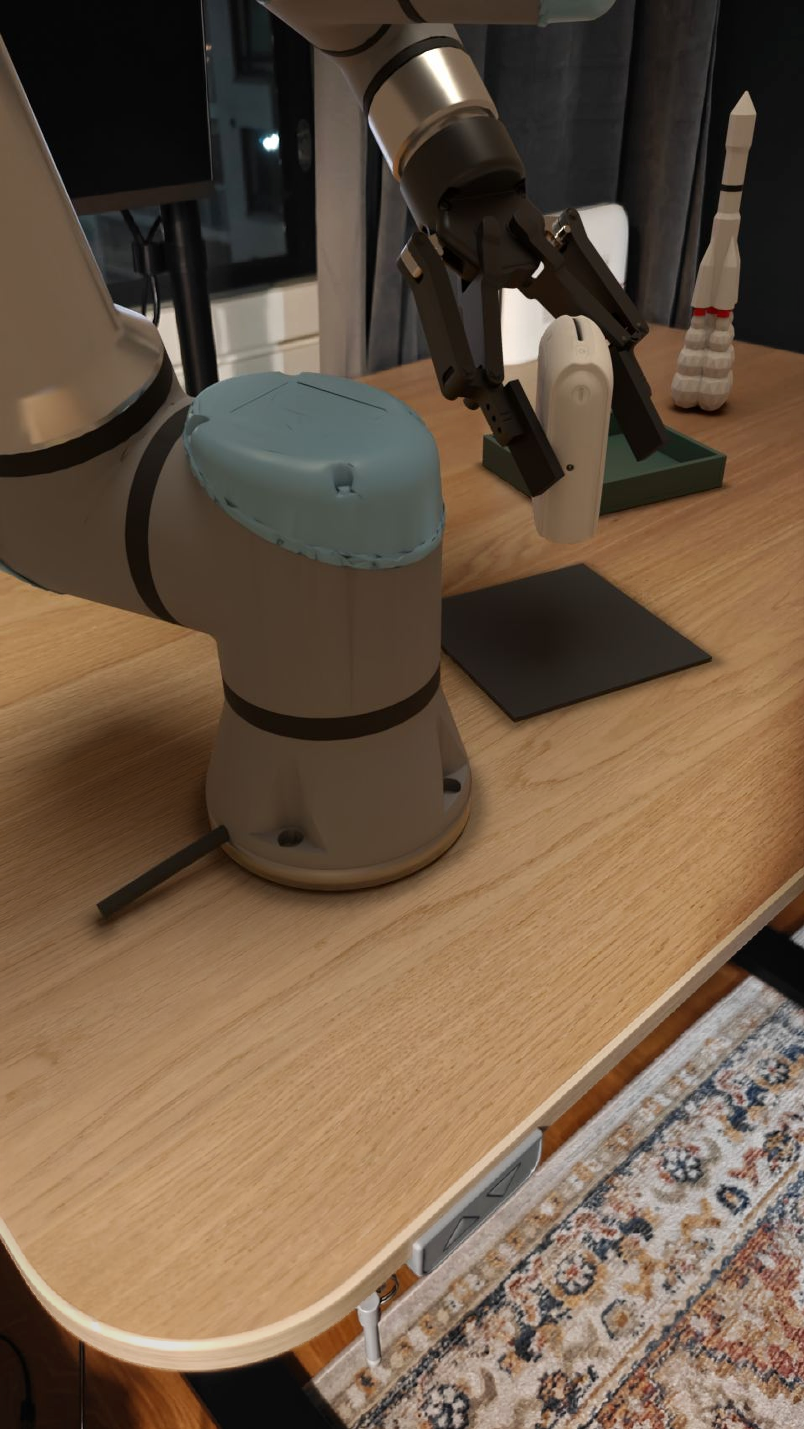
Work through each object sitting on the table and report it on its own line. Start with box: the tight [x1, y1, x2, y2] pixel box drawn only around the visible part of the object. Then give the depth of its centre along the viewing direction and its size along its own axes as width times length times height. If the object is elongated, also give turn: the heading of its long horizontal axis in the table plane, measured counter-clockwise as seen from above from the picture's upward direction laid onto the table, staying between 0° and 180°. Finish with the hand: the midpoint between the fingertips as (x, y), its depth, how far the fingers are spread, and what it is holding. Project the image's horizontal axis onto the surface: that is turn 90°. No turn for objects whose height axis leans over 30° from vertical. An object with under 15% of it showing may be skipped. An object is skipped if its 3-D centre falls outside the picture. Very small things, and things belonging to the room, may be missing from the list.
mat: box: [441, 562, 713, 722], centre depth 74 cm, size 16×16×1 cm
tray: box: [481, 410, 728, 516], centre depth 97 cm, size 17×15×3 cm
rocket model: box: [670, 90, 757, 412], centre depth 105 cm, size 7×7×30 cm
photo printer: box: [531, 315, 613, 545], centre depth 65 cm, size 10×4×12 cm, turn 177°
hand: (603, 468), depth 64 cm, fingers closed on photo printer, 8 cm apart
